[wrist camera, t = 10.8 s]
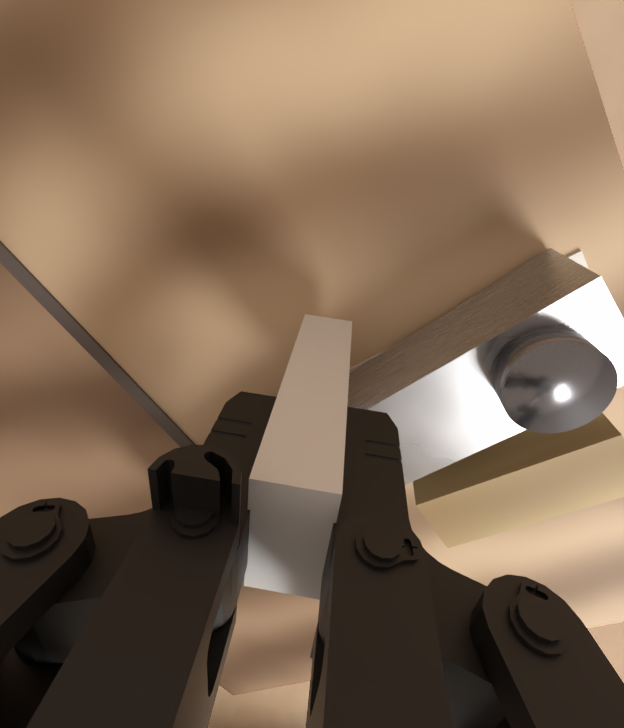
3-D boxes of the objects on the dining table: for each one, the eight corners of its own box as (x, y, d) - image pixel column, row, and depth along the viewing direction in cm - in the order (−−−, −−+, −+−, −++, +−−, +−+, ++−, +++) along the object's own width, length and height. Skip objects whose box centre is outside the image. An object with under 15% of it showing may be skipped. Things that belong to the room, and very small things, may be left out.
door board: (728, 562, 18) (828, 678, 14) (239, 668, 29) (219, 752, 25) (386, -436, 7) (408, -1105, 3) (-191, 326, 18) (-347, 376, 14)
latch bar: (226, 528, 19) (195, 611, 16) (164, 475, 18) (116, 554, 14) (599, 337, 12) (687, 410, 9) (540, 232, 11) (616, 270, 8)
